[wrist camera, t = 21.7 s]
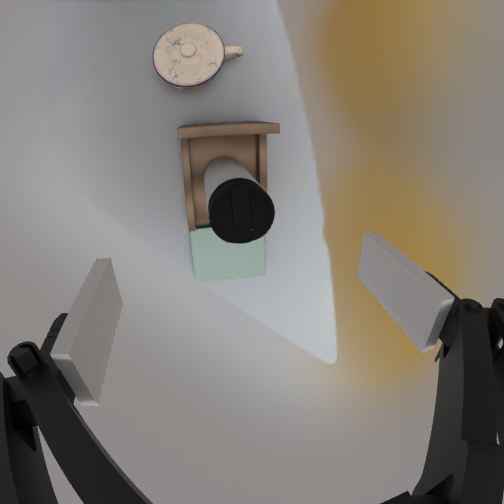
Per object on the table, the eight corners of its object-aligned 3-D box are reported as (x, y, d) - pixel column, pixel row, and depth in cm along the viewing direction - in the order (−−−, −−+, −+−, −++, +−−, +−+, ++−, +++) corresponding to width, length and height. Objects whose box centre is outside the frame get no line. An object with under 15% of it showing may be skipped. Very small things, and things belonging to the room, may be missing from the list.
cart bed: (181, 125, 42) (177, 128, 32) (259, 121, 44) (279, 123, 33) (189, 220, 49) (188, 252, 39) (260, 214, 51) (278, 243, 40)
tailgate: (189, 229, 47) (195, 282, 50) (263, 223, 49) (265, 274, 52) (190, 227, 49) (195, 277, 52) (260, 220, 51) (263, 270, 54)
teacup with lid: (164, 97, 40) (154, 92, 29) (156, 45, 35) (145, 24, 25) (242, 84, 41) (256, 74, 31) (234, 32, 37) (246, 8, 26)
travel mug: (242, 151, 44) (275, 177, 26) (245, 192, 47) (278, 244, 29) (201, 156, 43) (204, 185, 25) (206, 197, 46) (213, 254, 28)
